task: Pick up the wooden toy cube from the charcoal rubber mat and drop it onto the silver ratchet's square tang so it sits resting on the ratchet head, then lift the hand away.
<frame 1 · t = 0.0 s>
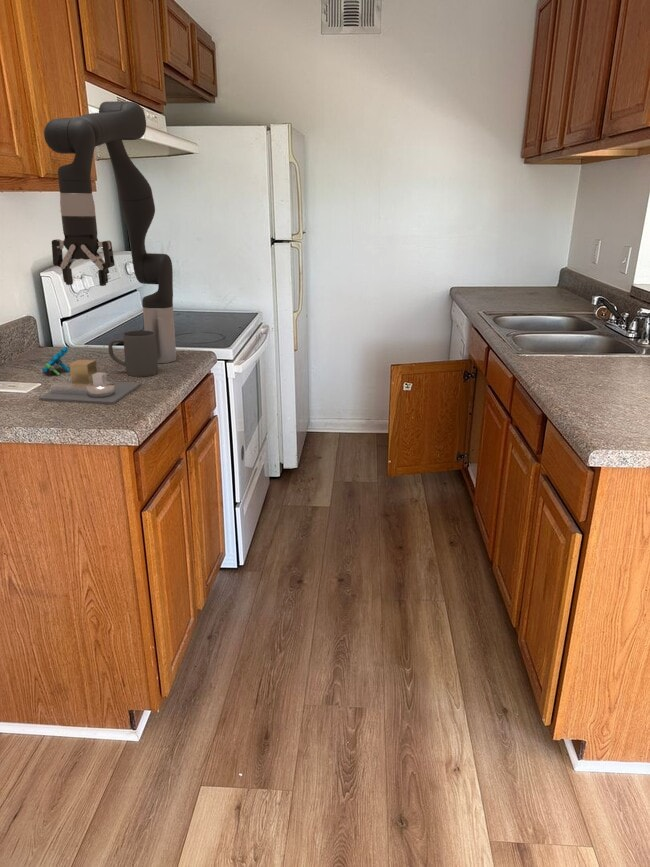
hand: (86, 285, 154), 29 cm above the worktop, fingers open, 8 cm apart
gear: (56, 373, 191), on the worktop
ratchet: (101, 394, 168), point 1 cm above the worktop, touching mat
mat: (92, 392, 172), on the worktop
wooden toy cube: (85, 383, 178), point 1 cm above the worktop, touching mat
mug: (134, 373, 191), on the worktop
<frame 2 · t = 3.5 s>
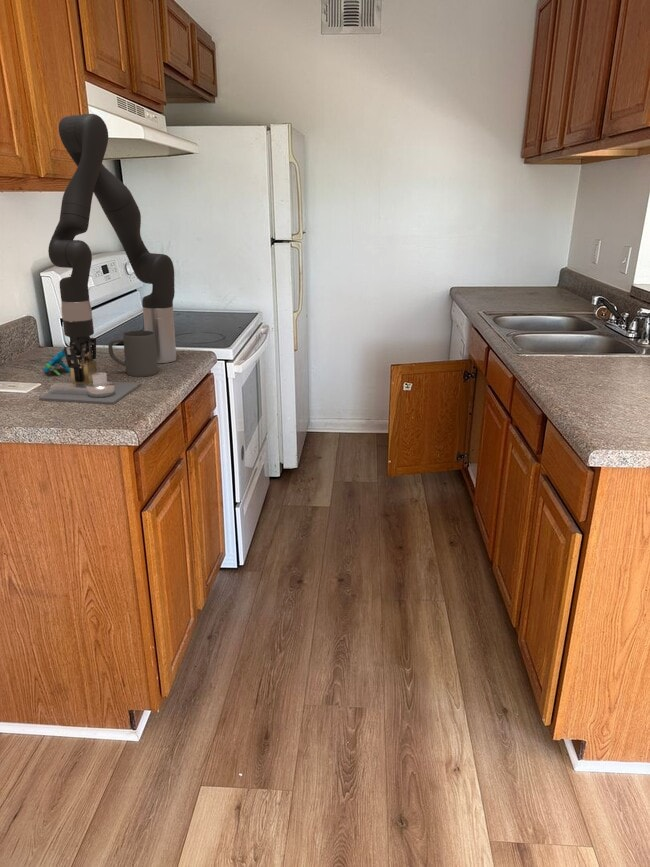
hand: (84, 378, 177), 2 cm above the worktop, fingers closed on wooden toy cube, 5 cm apart
wooden toy cube: (85, 383, 178), point 1 cm above the worktop, touching gripper, mat
everything else where it was.
when the fingers open (6 cm above the worktop, at t = 8.7 s): wooden toy cube drops 1 cm, resting on ratchet.
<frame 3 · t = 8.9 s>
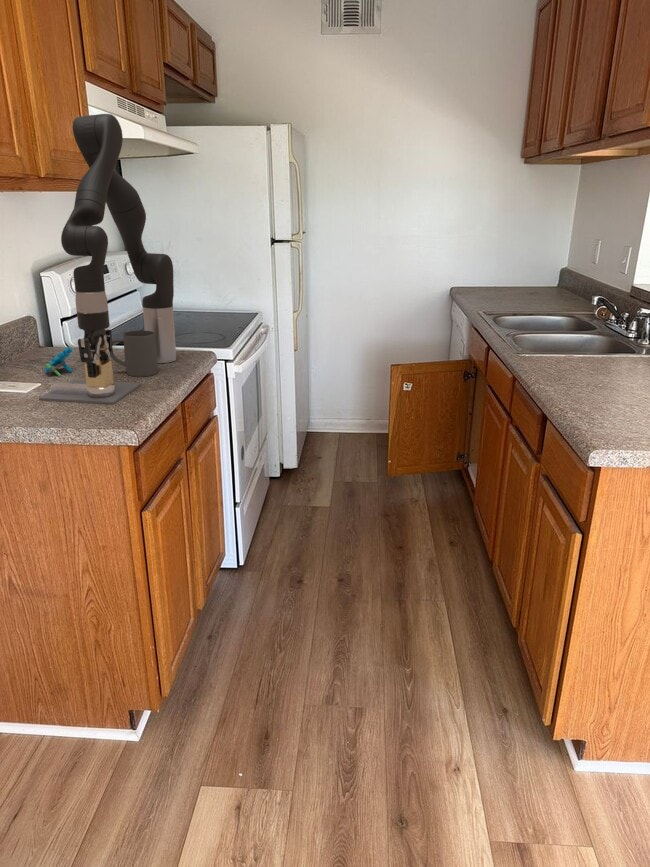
hand: (99, 373, 166), 6 cm above the worktop, fingers open, 6 cm apart
ratchet: (101, 394, 168), point 1 cm above the worktop, touching mat, wooden toy cube
wooden toy cube: (100, 384, 167), point 3 cm above the worktop, touching ratchet
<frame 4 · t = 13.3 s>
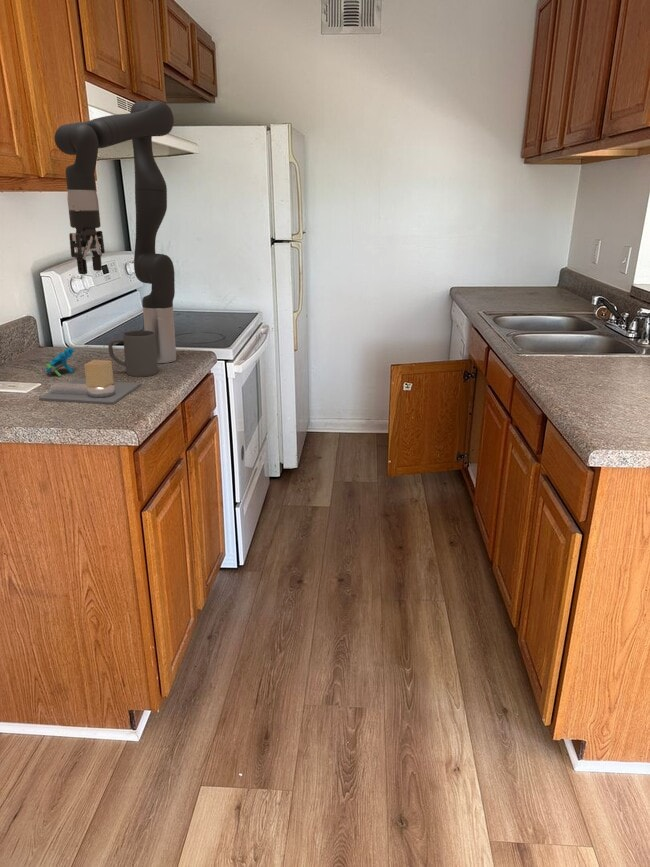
hand: (90, 272, 173), 30 cm above the worktop, fingers open, 8 cm apart
at the end: wooden toy cube 0.1 cm off-centre on the ratchet, point 2.5 cm above the ratchet's base; wooden toy cube tilted 0°; the gripper is holding nothing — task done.
